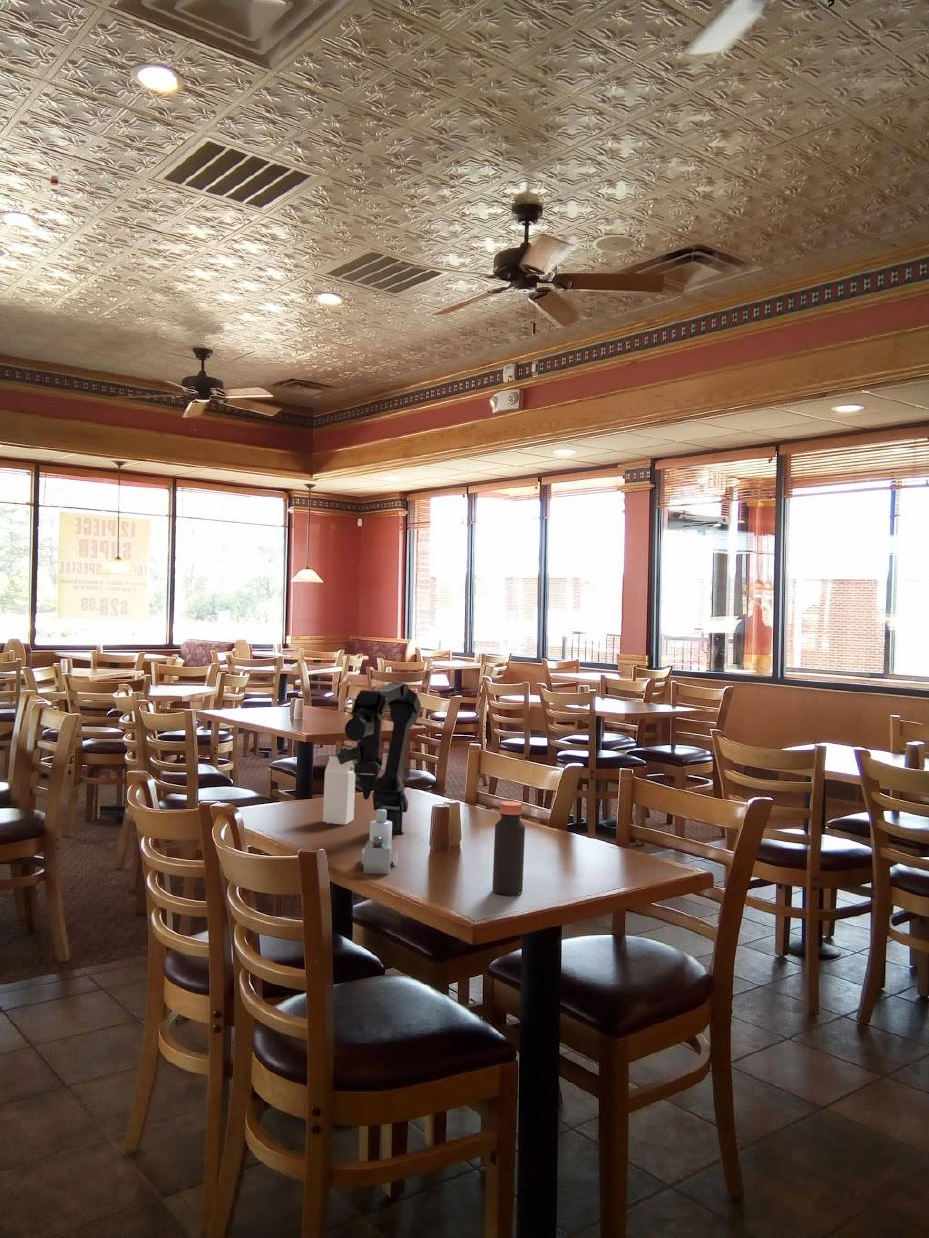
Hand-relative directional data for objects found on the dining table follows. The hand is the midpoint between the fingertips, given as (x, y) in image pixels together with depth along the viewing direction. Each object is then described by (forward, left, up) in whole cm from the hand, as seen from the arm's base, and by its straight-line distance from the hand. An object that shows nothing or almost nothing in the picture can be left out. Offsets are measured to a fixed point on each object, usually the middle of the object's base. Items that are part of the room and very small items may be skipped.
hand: (367, 796), depth 253 cm
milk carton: (+2, -29, -13) cm, 32 cm away
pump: (0, +18, -13) cm, 22 cm away
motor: (+1, +22, -13) cm, 26 cm away
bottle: (-23, +47, -13) cm, 54 cm away
